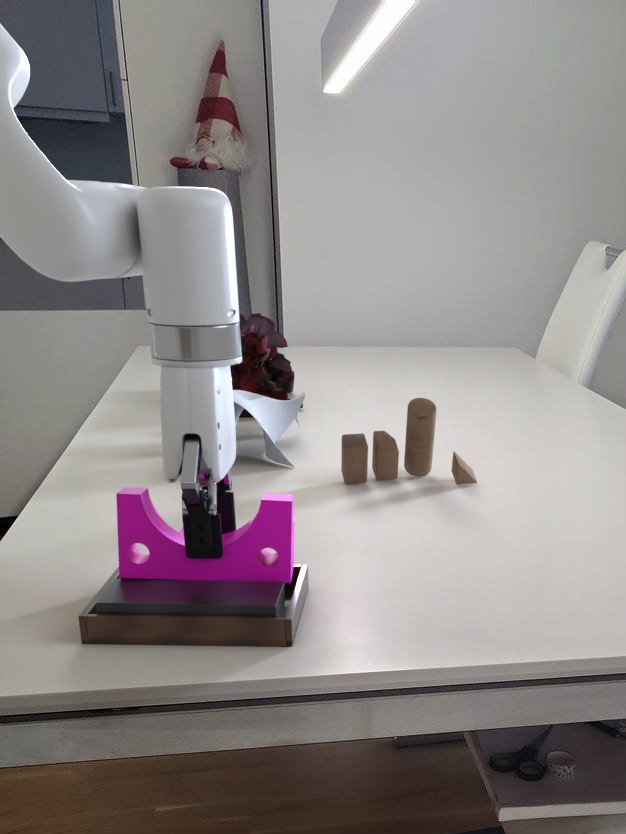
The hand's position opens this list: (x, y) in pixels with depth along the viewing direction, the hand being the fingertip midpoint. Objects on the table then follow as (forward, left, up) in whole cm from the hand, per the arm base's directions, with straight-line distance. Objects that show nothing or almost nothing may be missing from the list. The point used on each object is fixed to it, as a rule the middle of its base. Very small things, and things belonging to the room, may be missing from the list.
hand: (212, 543), depth 95 cm
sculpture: (-8, +65, -6) cm, 66 cm away
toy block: (0, 0, -3) cm, 3 cm away
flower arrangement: (-13, +102, -6) cm, 103 cm away
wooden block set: (+17, +48, -6) cm, 51 cm away
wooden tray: (-1, -3, -6) cm, 7 cm away
